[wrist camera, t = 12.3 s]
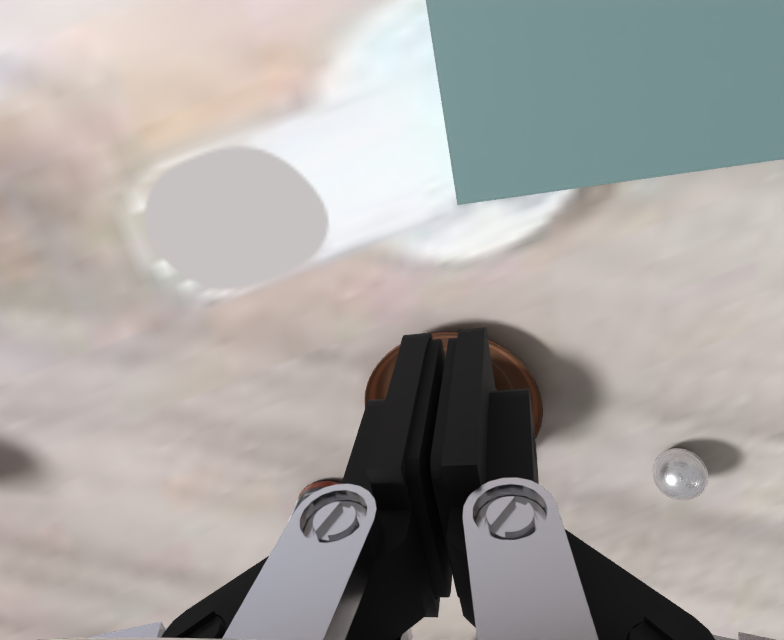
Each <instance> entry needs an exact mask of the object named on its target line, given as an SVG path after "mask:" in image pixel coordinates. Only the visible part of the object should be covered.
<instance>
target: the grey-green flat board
mask: <svg viewBox="0 0 784 640" xmlns="http://www.w3.org/2000/svg"><path fill="white" fill-rule="evenodd" d="M426 4H427V11H428V17H429V24H430V30H431V36H432V43H433V49H434V56H435V62H436V69H437V75H438V82H439V88H440V94H441V101H442V107H443V114H444V120H445V127H446V133H447V140H448V146H449V152H450V159H451V165H452V172H453V178H454V185H455V191H456V198H457V204H458V205H460V204H467V203H475V202H482V201H489V200H496V199H503V198H510V197H517V196H524V195H531V194H539V193H546V192H553V191H560V190H567V189H574V188H581V187H588V186H596V185H603V184H610V183H617V182H624V181H631V180H638V179H645V178H652V177H660V176H667V175H674V174H681V173H688V172H695V171H702V170H709V169H716V168H724V167H731V166H738V165H745V164H752V163H759V162H766V161H773V160H780V159H784V0H426Z"/></svg>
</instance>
